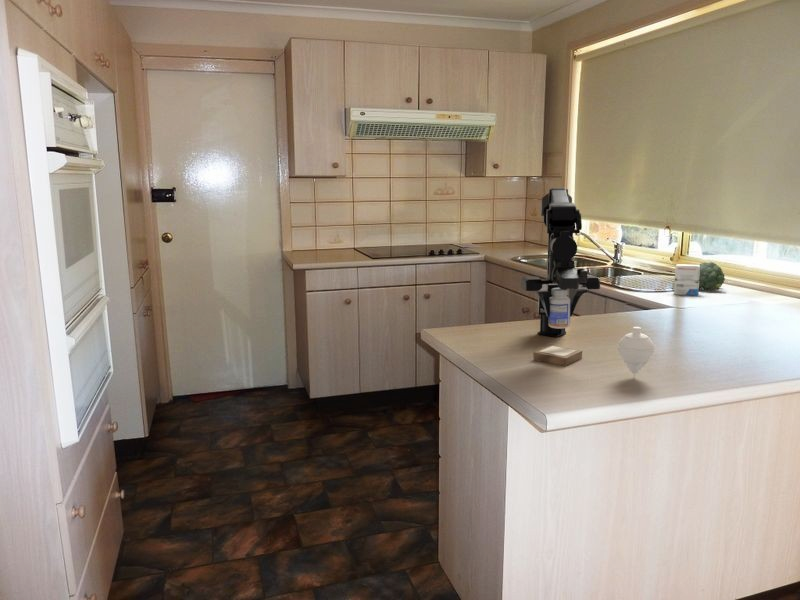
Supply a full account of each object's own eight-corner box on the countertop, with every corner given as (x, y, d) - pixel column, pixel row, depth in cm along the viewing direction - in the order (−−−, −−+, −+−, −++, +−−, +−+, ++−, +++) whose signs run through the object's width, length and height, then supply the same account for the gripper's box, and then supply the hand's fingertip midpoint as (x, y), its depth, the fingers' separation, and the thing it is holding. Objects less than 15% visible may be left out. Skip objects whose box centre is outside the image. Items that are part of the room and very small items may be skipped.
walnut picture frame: (533, 359, 159) (533, 351, 159) (550, 352, 166) (550, 344, 166) (565, 366, 154) (565, 357, 153) (581, 358, 160) (582, 350, 160)
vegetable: (739, 285, 251) (720, 272, 243) (711, 304, 257) (693, 292, 249) (723, 265, 259) (705, 251, 251) (697, 284, 266) (678, 271, 258)
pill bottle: (554, 323, 162) (554, 286, 160) (573, 325, 159) (574, 287, 157) (544, 327, 158) (544, 289, 156) (564, 329, 155) (564, 291, 153)
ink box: (698, 294, 246) (701, 264, 244) (697, 296, 242) (699, 266, 239) (675, 292, 250) (677, 263, 248) (673, 294, 246) (675, 264, 244)
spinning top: (610, 377, 144) (613, 327, 142) (626, 370, 149) (628, 322, 147) (642, 385, 139) (646, 332, 136) (657, 377, 144) (660, 326, 142)
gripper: (532, 260, 146) (531, 324, 149) (610, 258, 147) (607, 322, 150) (521, 254, 157) (519, 314, 160) (593, 253, 158) (590, 312, 161)
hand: (559, 316), depth 158 cm, fingers closed on pill bottle, 5 cm apart
